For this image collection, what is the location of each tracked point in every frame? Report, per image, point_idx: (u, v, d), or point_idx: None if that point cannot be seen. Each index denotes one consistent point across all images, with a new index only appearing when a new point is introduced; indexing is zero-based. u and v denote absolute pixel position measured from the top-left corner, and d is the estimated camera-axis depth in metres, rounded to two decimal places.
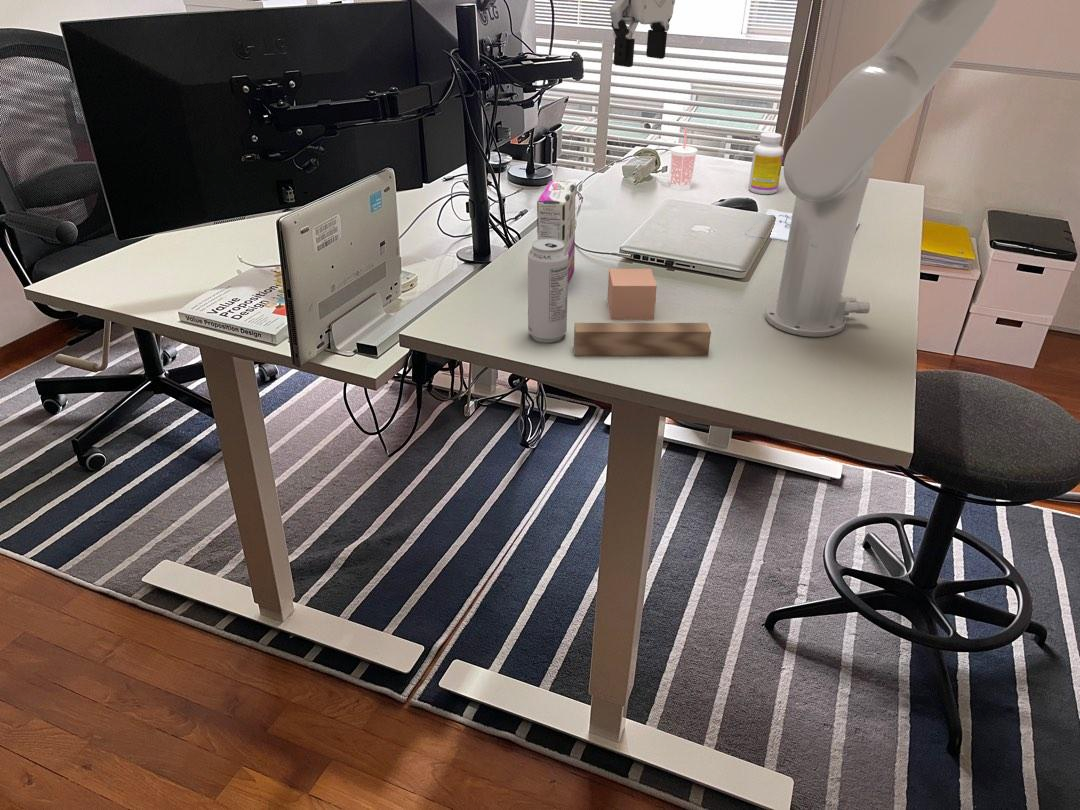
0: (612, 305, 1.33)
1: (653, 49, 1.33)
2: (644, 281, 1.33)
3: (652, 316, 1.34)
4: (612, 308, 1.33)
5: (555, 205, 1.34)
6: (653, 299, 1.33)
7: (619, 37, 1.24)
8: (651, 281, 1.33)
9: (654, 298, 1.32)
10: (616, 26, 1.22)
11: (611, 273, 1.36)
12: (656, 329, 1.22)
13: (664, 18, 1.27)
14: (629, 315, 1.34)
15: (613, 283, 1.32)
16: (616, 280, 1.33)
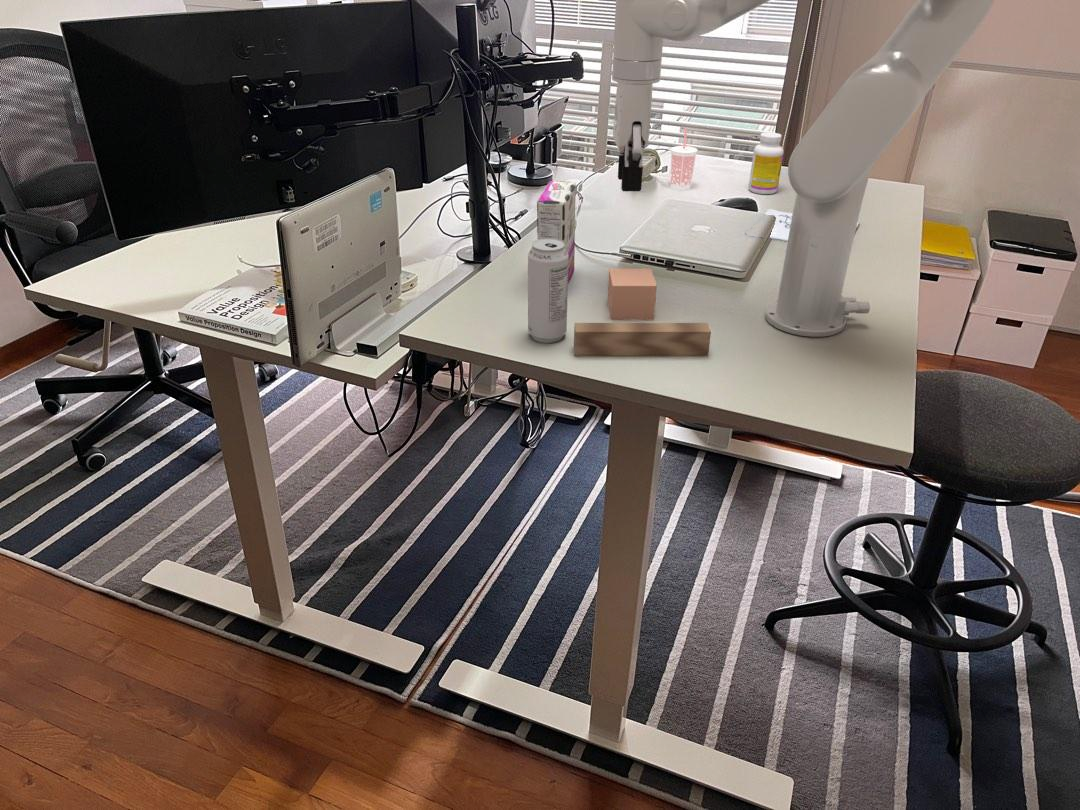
0: (612, 305, 1.33)
1: None
2: (644, 281, 1.33)
3: (652, 316, 1.34)
4: (612, 308, 1.33)
5: (555, 205, 1.34)
6: (653, 299, 1.33)
7: None
8: (651, 281, 1.33)
9: (654, 298, 1.32)
10: None
11: (611, 273, 1.36)
12: (656, 329, 1.22)
13: None
14: (629, 315, 1.34)
15: (613, 283, 1.32)
16: (616, 280, 1.33)
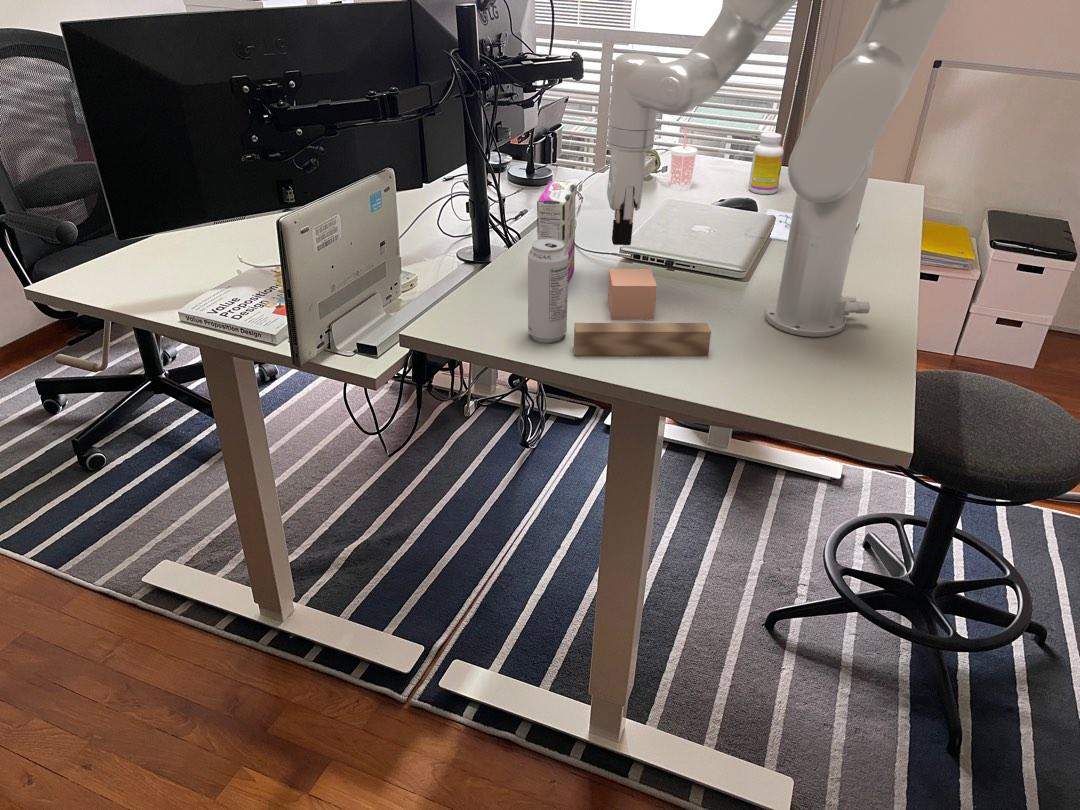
0: (612, 305, 1.33)
1: None
2: (644, 281, 1.33)
3: (652, 316, 1.34)
4: (612, 308, 1.33)
5: (555, 205, 1.34)
6: (653, 299, 1.33)
7: None
8: (651, 281, 1.33)
9: (654, 298, 1.32)
10: None
11: (611, 273, 1.36)
12: (656, 329, 1.22)
13: (609, 204, 1.39)
14: (629, 315, 1.34)
15: (613, 283, 1.32)
16: (616, 280, 1.33)
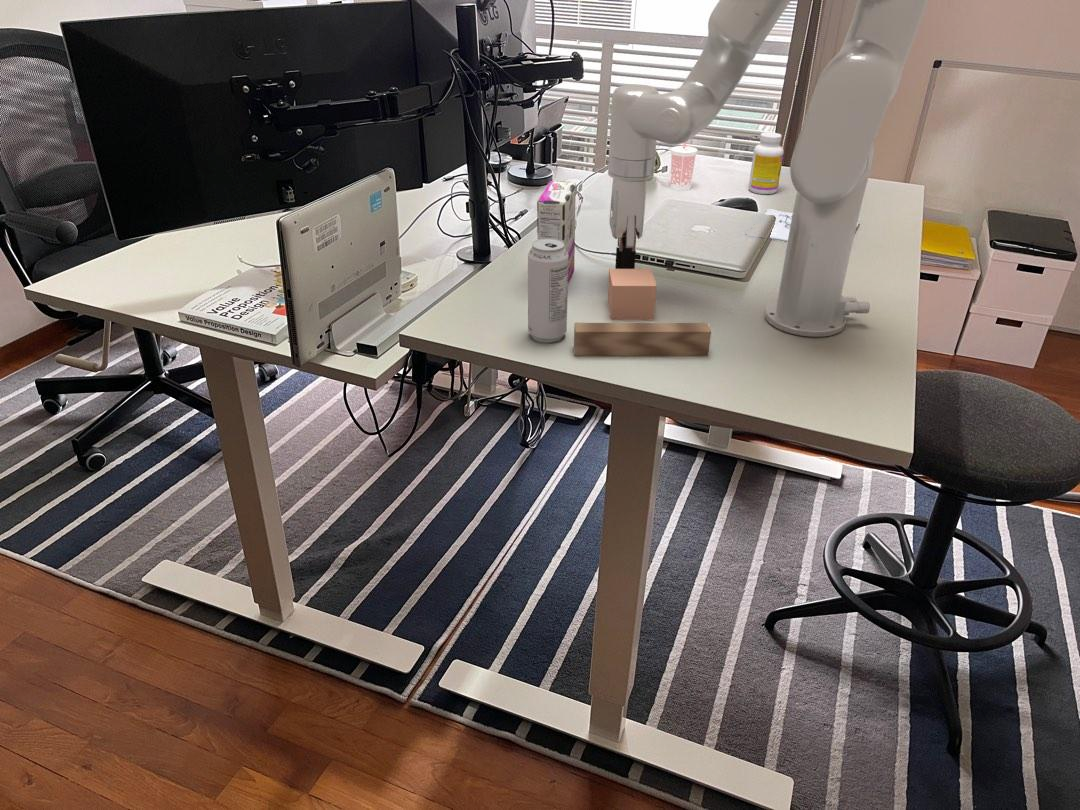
0: (612, 305, 1.33)
1: None
2: (644, 281, 1.33)
3: (652, 316, 1.34)
4: (612, 308, 1.33)
5: (555, 205, 1.34)
6: (653, 299, 1.33)
7: None
8: (651, 281, 1.33)
9: (654, 298, 1.32)
10: None
11: (611, 273, 1.36)
12: (656, 329, 1.22)
13: None
14: (629, 315, 1.34)
15: (613, 283, 1.32)
16: (616, 280, 1.33)
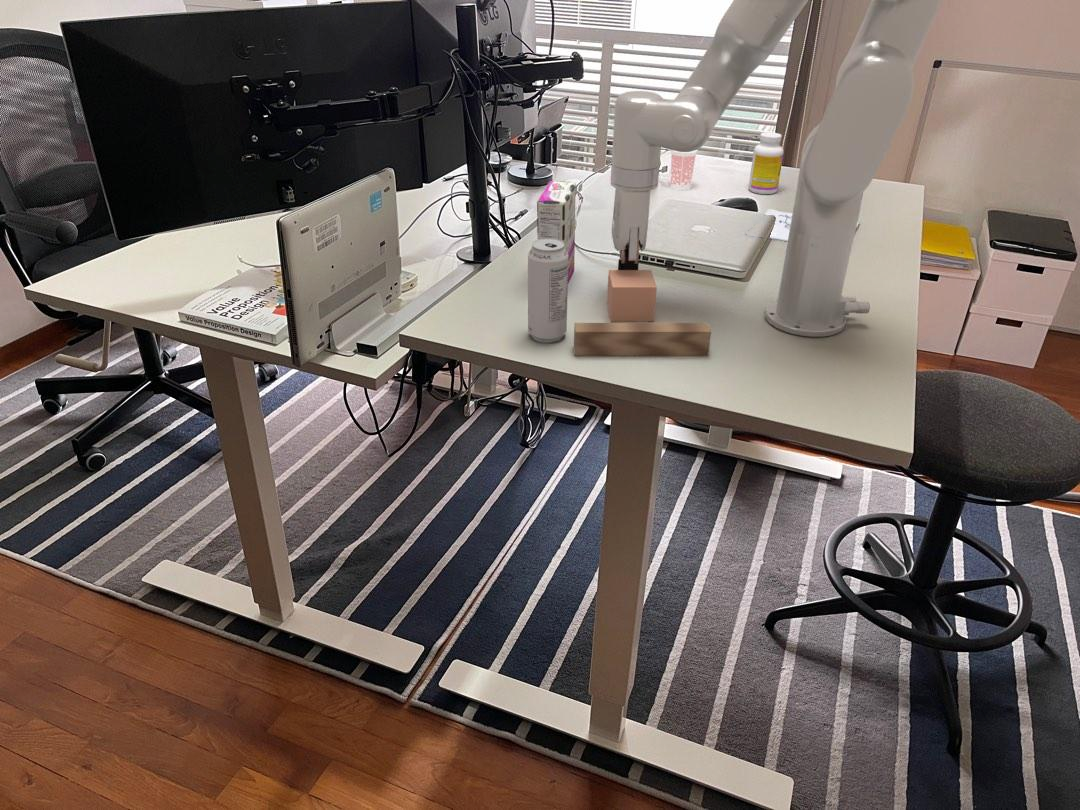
0: (612, 307, 1.32)
1: None
2: (644, 282, 1.32)
3: (652, 318, 1.33)
4: (612, 310, 1.32)
5: (555, 205, 1.34)
6: (653, 300, 1.32)
7: None
8: (651, 282, 1.32)
9: (654, 299, 1.32)
10: None
11: (611, 274, 1.35)
12: (656, 329, 1.22)
13: None
14: (629, 317, 1.33)
15: (613, 284, 1.31)
16: (616, 281, 1.32)
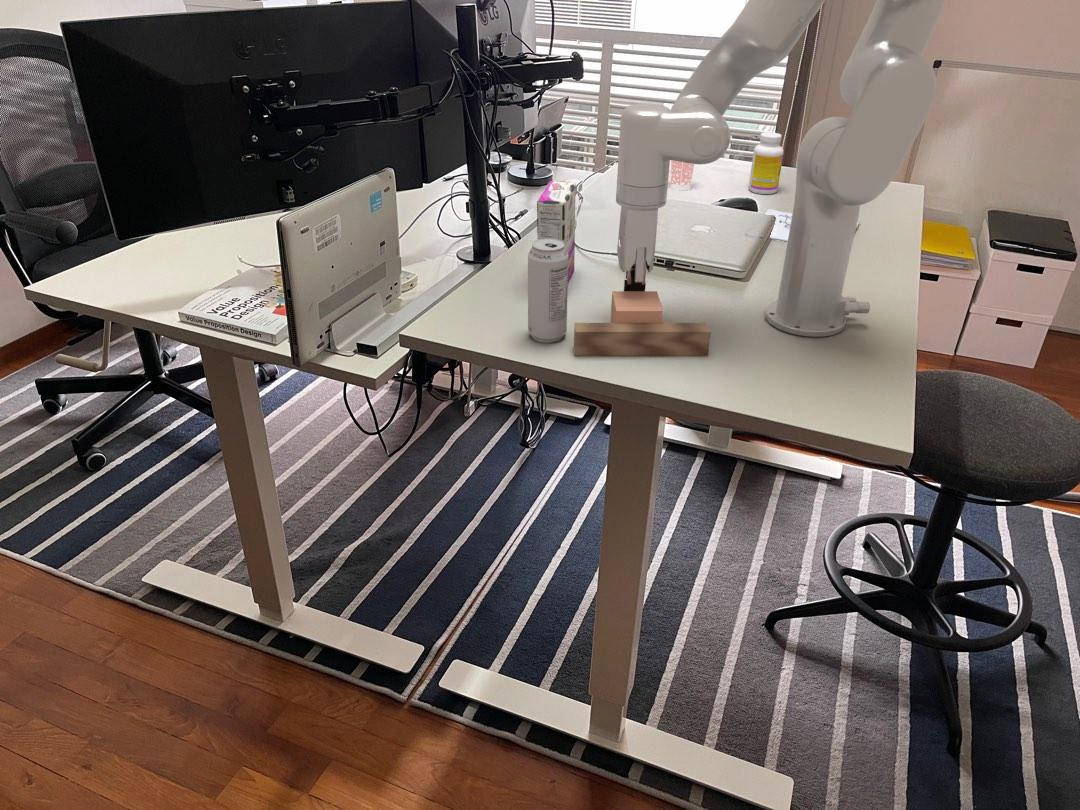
0: None
1: None
2: (650, 305, 1.25)
3: None
4: None
5: (555, 205, 1.34)
6: None
7: None
8: (657, 305, 1.25)
9: None
10: None
11: (614, 296, 1.27)
12: (656, 329, 1.22)
13: (619, 264, 1.27)
14: None
15: (617, 308, 1.24)
16: (620, 304, 1.25)
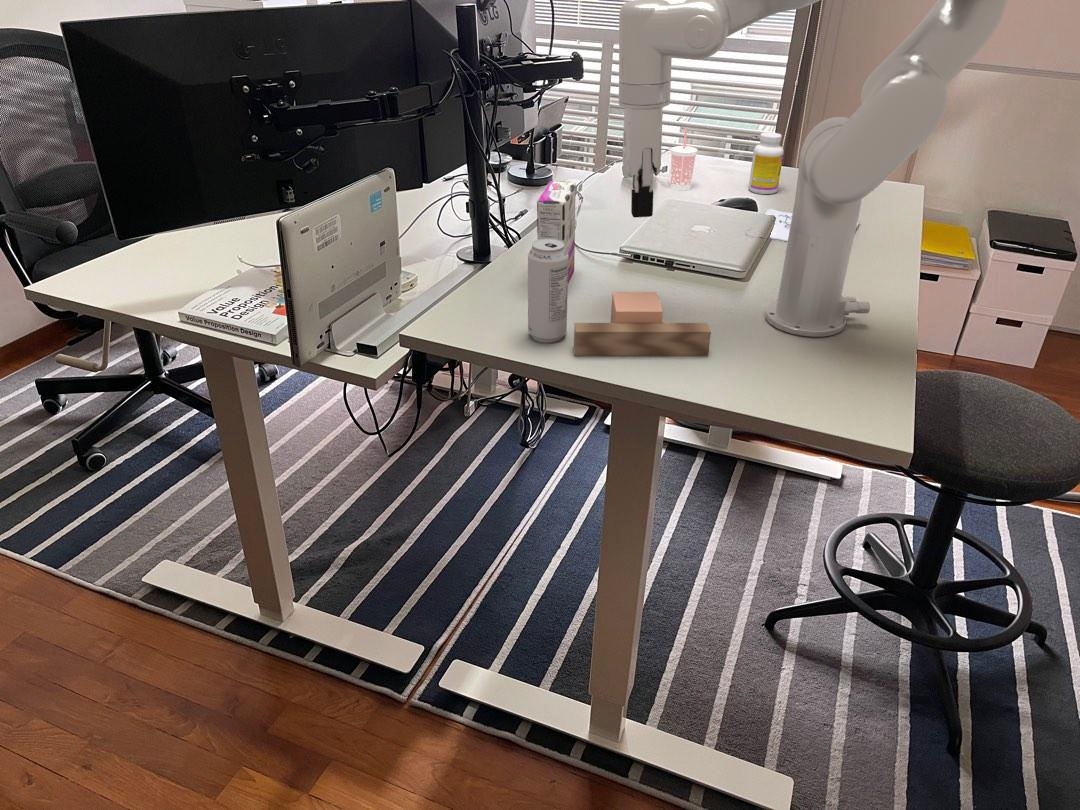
0: None
1: None
2: (650, 306, 1.25)
3: None
4: None
5: (555, 205, 1.34)
6: None
7: None
8: (657, 306, 1.25)
9: None
10: None
11: (614, 297, 1.27)
12: (656, 329, 1.22)
13: None
14: None
15: (616, 308, 1.24)
16: (620, 304, 1.25)
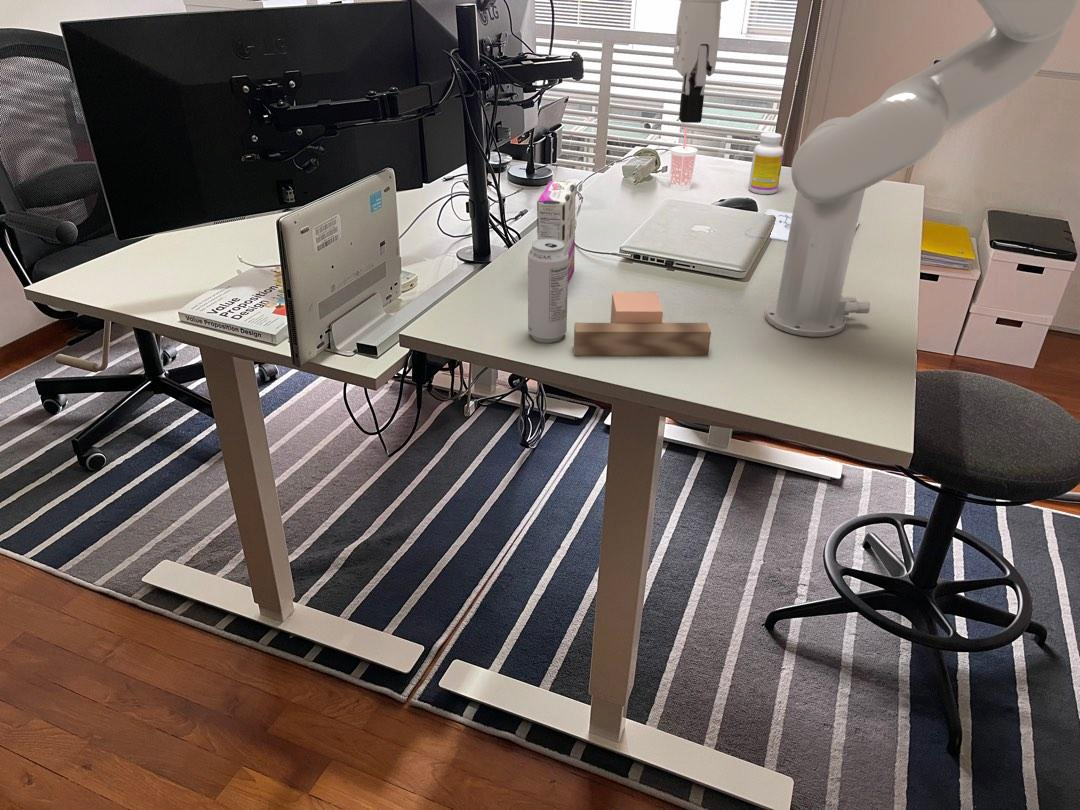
0: None
1: None
2: (650, 306, 1.25)
3: None
4: None
5: (555, 205, 1.34)
6: None
7: None
8: (657, 306, 1.25)
9: None
10: None
11: (614, 297, 1.27)
12: (656, 329, 1.22)
13: (678, 71, 1.22)
14: None
15: (616, 308, 1.24)
16: (620, 304, 1.25)
